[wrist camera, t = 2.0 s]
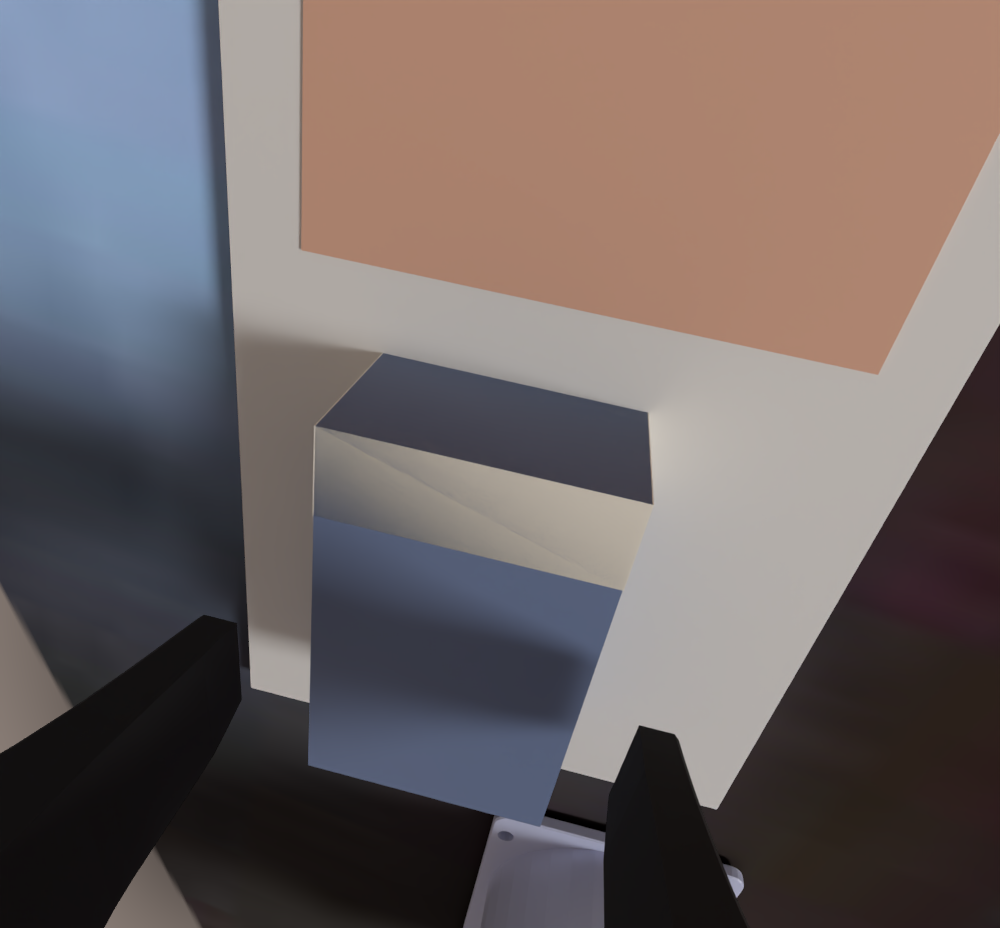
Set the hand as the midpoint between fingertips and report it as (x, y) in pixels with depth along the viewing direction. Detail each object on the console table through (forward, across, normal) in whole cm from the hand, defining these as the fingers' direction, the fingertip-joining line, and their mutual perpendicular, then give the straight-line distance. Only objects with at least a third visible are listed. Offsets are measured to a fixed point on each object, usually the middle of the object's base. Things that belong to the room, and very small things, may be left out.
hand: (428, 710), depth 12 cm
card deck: (+5, 0, 0) cm, 5 cm away
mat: (+5, -1, -4) cm, 7 cm away
